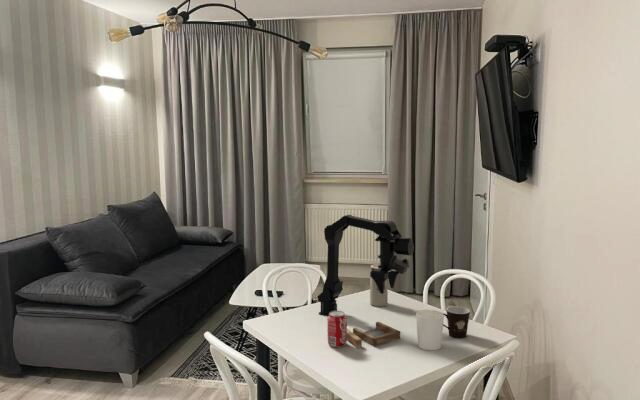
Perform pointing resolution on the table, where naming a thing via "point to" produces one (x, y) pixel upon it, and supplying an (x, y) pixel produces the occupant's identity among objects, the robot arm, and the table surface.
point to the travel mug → (375, 294)
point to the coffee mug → (457, 321)
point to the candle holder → (429, 329)
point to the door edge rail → (354, 339)
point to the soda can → (337, 329)
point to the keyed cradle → (378, 334)
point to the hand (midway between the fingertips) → (387, 290)
